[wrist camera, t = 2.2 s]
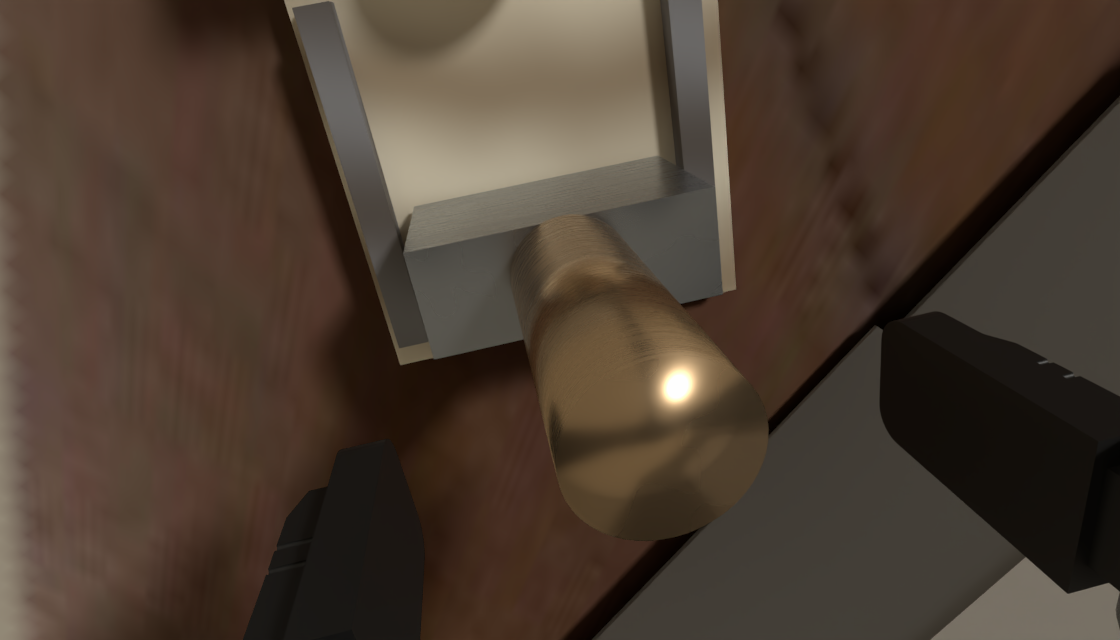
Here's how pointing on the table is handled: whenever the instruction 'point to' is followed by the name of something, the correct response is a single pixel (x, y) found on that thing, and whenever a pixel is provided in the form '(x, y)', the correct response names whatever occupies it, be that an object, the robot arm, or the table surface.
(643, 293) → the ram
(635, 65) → the peg and ball tray
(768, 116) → the table surface
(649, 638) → the laptop
